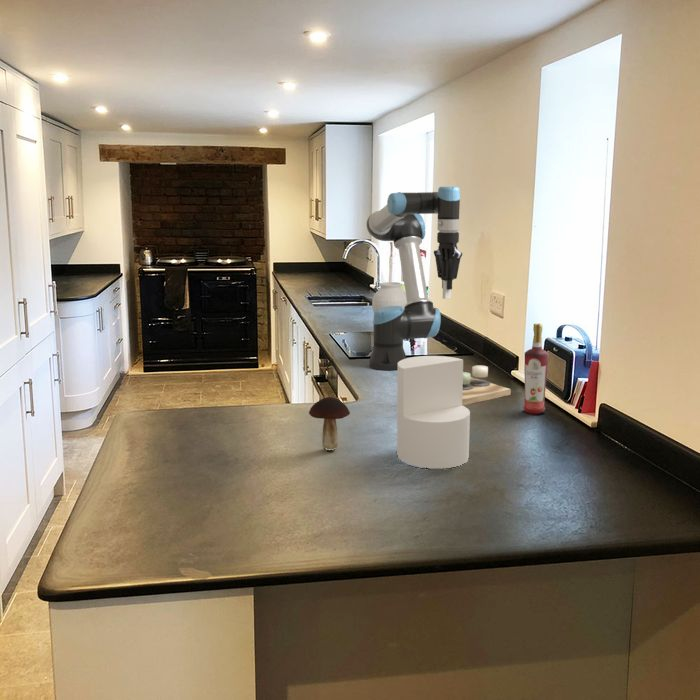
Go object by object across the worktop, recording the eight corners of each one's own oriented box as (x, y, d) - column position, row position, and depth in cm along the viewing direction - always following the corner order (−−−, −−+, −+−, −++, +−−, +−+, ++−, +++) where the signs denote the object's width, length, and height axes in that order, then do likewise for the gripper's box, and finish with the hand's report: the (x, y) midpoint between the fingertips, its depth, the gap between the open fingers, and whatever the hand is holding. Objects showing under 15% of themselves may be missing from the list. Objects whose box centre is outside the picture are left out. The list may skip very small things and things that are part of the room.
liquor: (547, 410, 227) (552, 323, 221) (543, 416, 220) (548, 327, 214) (524, 407, 230) (528, 321, 224) (519, 414, 223) (523, 325, 217)
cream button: (468, 375, 251) (468, 366, 250) (480, 372, 254) (480, 364, 253) (479, 378, 246) (479, 369, 246) (491, 376, 249) (491, 367, 249)
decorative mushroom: (355, 446, 197) (355, 393, 194) (342, 460, 187) (341, 404, 184) (318, 442, 201) (317, 390, 197) (303, 455, 190) (301, 401, 187)
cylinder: (385, 450, 194) (385, 360, 188) (445, 440, 201) (447, 353, 196) (418, 474, 177) (419, 376, 172) (482, 462, 184) (485, 368, 179)
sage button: (451, 381, 247) (451, 373, 246) (463, 379, 250) (463, 371, 249) (461, 385, 242) (461, 376, 242) (473, 382, 245) (473, 374, 245)
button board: (414, 391, 250) (414, 384, 249) (466, 380, 262) (466, 374, 262) (456, 406, 231) (457, 399, 231) (510, 394, 244) (510, 387, 244)
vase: (410, 338, 337) (411, 285, 331) (372, 339, 337) (372, 286, 331) (408, 331, 354) (408, 280, 348) (371, 331, 354) (371, 281, 349)
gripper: (428, 231, 255) (427, 297, 260) (452, 232, 244) (450, 301, 249) (444, 230, 259) (443, 295, 264) (468, 231, 248) (467, 299, 253)
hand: (446, 298), depth 256 cm, fingers closed
